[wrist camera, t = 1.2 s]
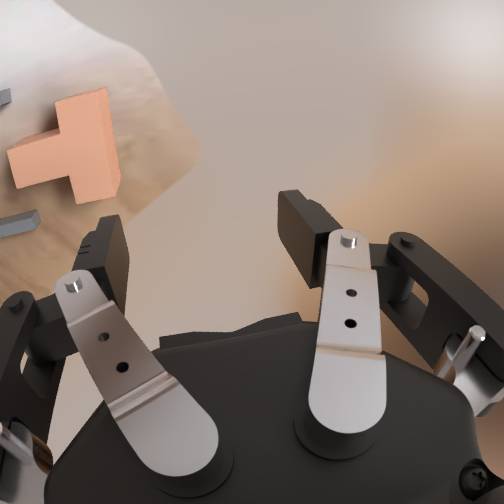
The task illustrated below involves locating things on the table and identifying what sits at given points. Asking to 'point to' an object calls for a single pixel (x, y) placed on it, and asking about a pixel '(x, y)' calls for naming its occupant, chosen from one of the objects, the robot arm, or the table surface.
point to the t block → (73, 149)
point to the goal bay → (19, 221)
